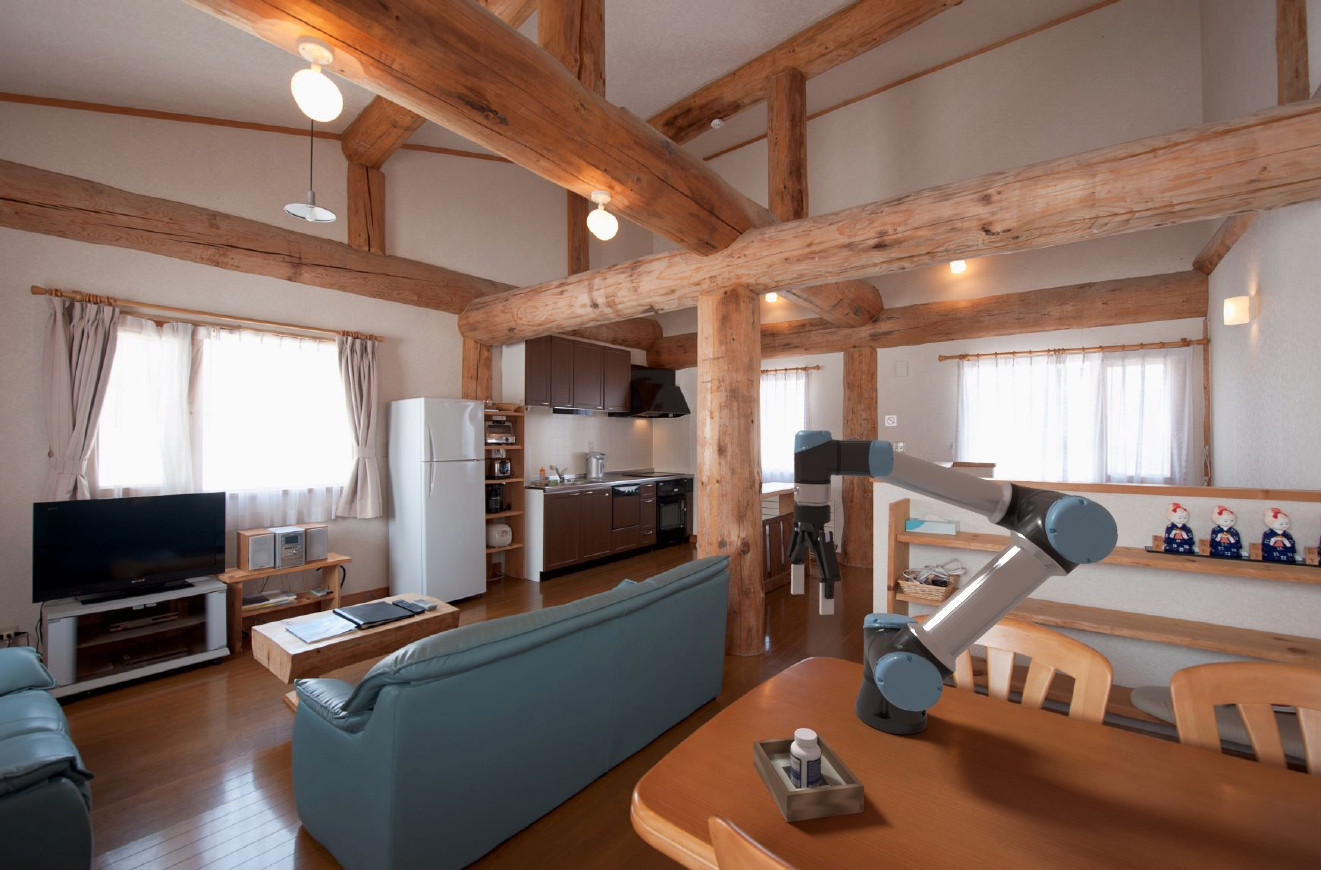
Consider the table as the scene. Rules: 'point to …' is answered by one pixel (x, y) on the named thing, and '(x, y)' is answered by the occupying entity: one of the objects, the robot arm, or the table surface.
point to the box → (827, 800)
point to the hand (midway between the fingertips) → (811, 603)
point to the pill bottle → (805, 759)
